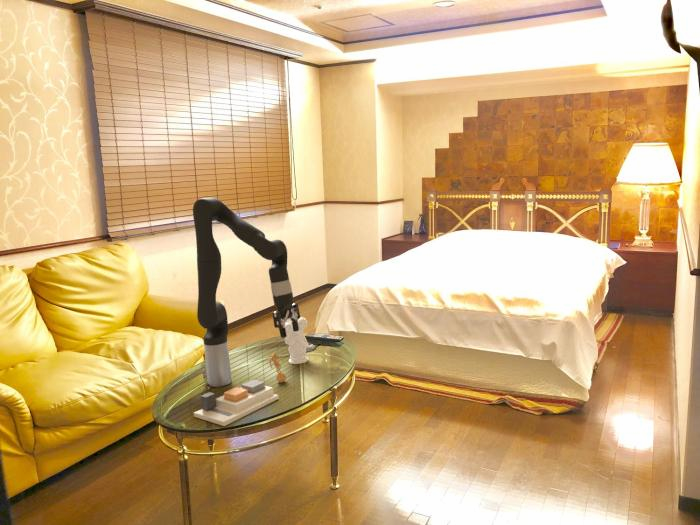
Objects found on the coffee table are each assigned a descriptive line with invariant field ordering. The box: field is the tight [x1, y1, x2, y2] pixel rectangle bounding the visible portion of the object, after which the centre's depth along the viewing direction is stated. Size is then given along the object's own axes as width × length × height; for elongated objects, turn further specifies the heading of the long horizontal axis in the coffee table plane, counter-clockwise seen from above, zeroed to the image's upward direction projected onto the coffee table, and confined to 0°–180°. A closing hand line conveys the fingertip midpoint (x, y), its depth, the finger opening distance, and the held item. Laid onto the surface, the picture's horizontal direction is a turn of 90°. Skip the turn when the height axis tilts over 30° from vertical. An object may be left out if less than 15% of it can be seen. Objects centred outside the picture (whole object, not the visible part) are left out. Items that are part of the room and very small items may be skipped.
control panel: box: [193, 385, 279, 427], centre depth 207 cm, size 16×26×4 cm, turn 143°
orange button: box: [223, 386, 248, 402], centre depth 206 cm, size 6×6×3 cm
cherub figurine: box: [284, 316, 309, 365], centre depth 251 cm, size 12×12×22 cm
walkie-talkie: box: [288, 341, 317, 355], centre depth 271 cm, size 9×4×20 cm
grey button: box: [241, 379, 266, 394], centre depth 213 cm, size 6×6×3 cm
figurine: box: [268, 352, 287, 384], centre depth 229 cm, size 8×6×12 cm
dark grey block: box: [200, 391, 217, 411], centre depth 204 cm, size 3×4×5 cm
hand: (290, 334), depth 218 cm, fingers open, 8 cm apart
